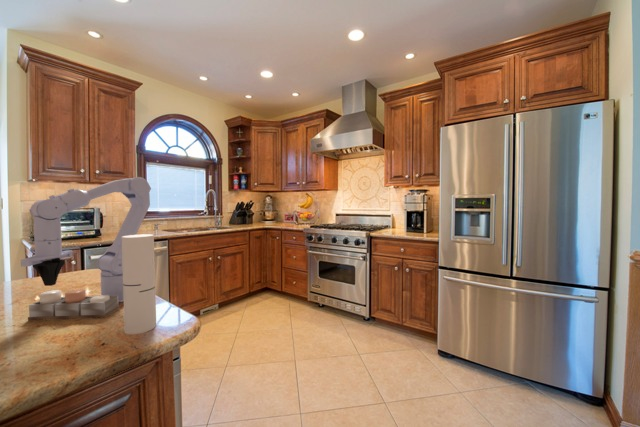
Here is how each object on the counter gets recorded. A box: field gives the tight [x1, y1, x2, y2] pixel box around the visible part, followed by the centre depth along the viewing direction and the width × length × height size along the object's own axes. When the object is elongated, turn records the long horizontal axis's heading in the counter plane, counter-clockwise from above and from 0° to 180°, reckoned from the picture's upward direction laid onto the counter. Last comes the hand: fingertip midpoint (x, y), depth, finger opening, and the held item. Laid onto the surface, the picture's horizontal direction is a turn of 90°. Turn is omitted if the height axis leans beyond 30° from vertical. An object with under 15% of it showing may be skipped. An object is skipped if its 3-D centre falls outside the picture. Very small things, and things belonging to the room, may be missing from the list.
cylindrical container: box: [122, 233, 157, 335], centre depth 73 cm, size 7×7×25 cm
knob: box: [90, 295, 110, 303], centre depth 83 cm, size 5×5×4 cm
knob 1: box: [39, 289, 62, 304], centre depth 82 cm, size 5×5×4 cm
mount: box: [27, 295, 120, 322], centre depth 82 cm, size 21×7×4 cm, turn 94°
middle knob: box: [64, 289, 87, 303], centre depth 82 cm, size 5×5×4 cm
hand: (50, 285), depth 81 cm, fingers closed
